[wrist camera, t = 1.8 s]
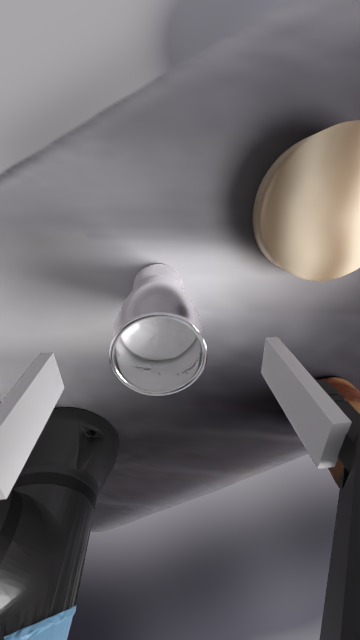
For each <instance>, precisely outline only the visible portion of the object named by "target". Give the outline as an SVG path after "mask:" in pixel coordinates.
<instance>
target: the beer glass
mask: <svg viewBox="0 0 360 640" xmlns="http://www.w3.org/2000/svg"><path fill="white" fill-rule="evenodd" d="M183 289H184V288H183V282H182V279H181V277H180V275H179V274H178V273H177V271H175V270H174V269H173V268H171V267H170V266H167V265H164V264H152V265H149V266H146V267H145V268H143V269H142V270H141V271H140V272H139V273H138V274H137V275H136V277H135V279H134V283H133V291H132V292H131V293H130V294H129V295H128V297H127V298H126V299H125V301H124V302H123V304H122V306H121V308H120V310H119V312H118V315H117V318H116V321H115V325H114V329H113V334H112V341H111V344H110V348H109V362H110V366H111V368H112V371H113V373H114V374H115V376H116V377H117V378H118V380H119V381H120V382H121V383H123V384H124V385H125V386H126V387H128V388H130V389H131V390H133V391H136V392H138V393H141V394H145V395H152V396H163V395H169V394H173V393H177V392H179V391H181V390H183V389H185V388H187V387H189V386H190V385H191V384H193V383H194V382H195V381H196V380H197V379H198V378H199V376H200V375H201V373H202V372H203V370H204V368H205V365H206V362H207V354H208V353H207V345H206V342H205V338H204V332H203V327H202V323H201V320H200V317H199V314H198V311H197V309H196V307H195V305H194V303H193V302H192V300H191V299H190V298H189V296H188V295H187V294H186V293H185V292H184V291H183Z"/></svg>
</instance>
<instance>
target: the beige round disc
mask: <svg viewBox="0 0 360 640" xmlns="http://www.w3.org/2000/svg"><path fill="white" fill-rule="evenodd" d="M252 222H253V231H254V235H255V239H256V242H257V244H258V246H259V248H260V250H261V252H262V253H263V254H264V256H265V257H266V258H267V259H268V260H269V261H270V262H271V263H273V264H274V265H276V266H277V267H279V268H281V269H283V270H285V271H287V272H289V273H291V274H293V275H295V276H297V277H299V278H303V279H306V280H312V281H325V280H331V279H335V278H339V277H342V276H344V275H347V274H349V273H351V272H353V271H355V270H357V269H358V268H360V121H359V120H357V121H347V122H344V123H340V124H336V125H334V126H332V127H329V128H327V129H325V130H322V131H320V132H318V133H316V134H314V135H311V136H309V137H307V138H305V139H303V140H301V141H299V142H297V143H296V144H294V145H292V146H291V147H290V148H288V149H287V150H286V151H284V152H283V153H282V154H281V155H280V156H279V157H278V158H277V159H276V161H275V162H274V163H273V164H272V165H271V167H270V168H269V170H268V171H267V173H266V174H265V176H264V178H263V180H262V182H261V184H260V186H259V189H258V191H257V194H256V198H255V202H254V207H253V220H252Z"/></svg>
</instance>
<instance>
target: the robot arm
mask: <svg viewBox="0 0 360 640" xmlns="http://www.w3.org/2000/svg"><path fill="white" fill-rule="evenodd" d="M261 374H262V376H263V377H264V379H265V381H266V382H267V384H268V386H269V387H270V389H271V391H272V392H273V394H274V396H275V398H276V399H277V401H278V403H279V404H280V406H281V408H282V409H283V411H284V413H285V414H286V416H287V418H288V420H289V421H290V423H291V425H292V426H293V428H294V430H295V431H296V433H297V435H298V436H299V438H300V440H301V442H302V443H303V445H304V447H305V448H306V450H307V452H308V453H309V455H310V457H311V458H312V460H313V462H314V464H315V465H316V467H317V469H320V468H330V467H335V465H336V462H337V459H338V458H339V460H340V461H341V463H342V464H343V466H344V468H343V471H342V473H341V475H340V478H339V480H338V483H340V492H339V500H338V506H337V514H336V521H335V522H336V523H335V529H334V537H333V544H332V551H331V559H330V566H329V574H328V581H327V589H326V596H325V604H324V611H323V619H322V626H321V634H320V640H360V414H359V413H358V412H357V411H356V410H355V408H354V407H353V406H352V405H351V404H350V403H349V402H348V401H346V399H345V398H344V397H343V396H342V395H340V393H339V392H338V390H337V389H336V388H335V387H334V386H333V385H331V384H330V383H328V382H326V381H325V380H323V379H321V380H315V379H314V378H313V377H312V376H311V375H310V374H309V372H308V371H307V370H306V369H305V368H304V367H303V366H302V364H301V363H300V362H299V361H298V360H297V359H296V358H295V356H294V355H293V354H292V353H291V352H290V351H289V350H288V348H287V347H286V346H285V345H284V344H283V343H282V342H281V340H280V339H279V338H278V337H269V338H266V339H265V346H264V354H263V361H262V368H261ZM63 390H64V385H63V382H62V379H61V375H60V372H59V369H58V366H57V363H56V360H55V356H54V353H40V354H39V356H38V357H37V358H36V359H35V361H34V362H33V363H32V364H31V366H30V367H29V368H28V369H27V371H26V372H25V373H24V374H23V376H22V377H21V378H20V379H19V381H18V382H17V383H16V384H15V386H14V387H13V388H12V389H11V391H10V392H9V393H8V394H7V396H6V397H5V398H4V399H3V401H2V402H1V403H0V640H67V637H68V633H69V628H70V625H71V621H72V617H73V615H74V613H75V611H76V602H77V597H78V592H79V587H80V582H81V577H82V572H83V566H84V561H85V556H86V551H87V546H88V540H89V535H90V530H91V525H92V520H93V514H94V509H95V505H96V500H97V497H98V495H99V493H100V491H101V489H102V487H103V485H104V483H105V481H106V479H107V477H108V476H109V474H110V472H111V470H112V468H113V466H114V464H115V461H116V458H117V453H118V447H119V439H118V435H117V433H116V431H115V429H114V428H113V427H112V425H111V424H110V423H109V422H107V421H106V420H105V419H103V418H102V417H100V416H98V415H96V414H94V413H92V412H89V411H86V410H82V409H76V408H56V409H54V407H55V405H56V403H57V401H58V399H59V397H60V396H61V394H62V392H63Z"/></svg>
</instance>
